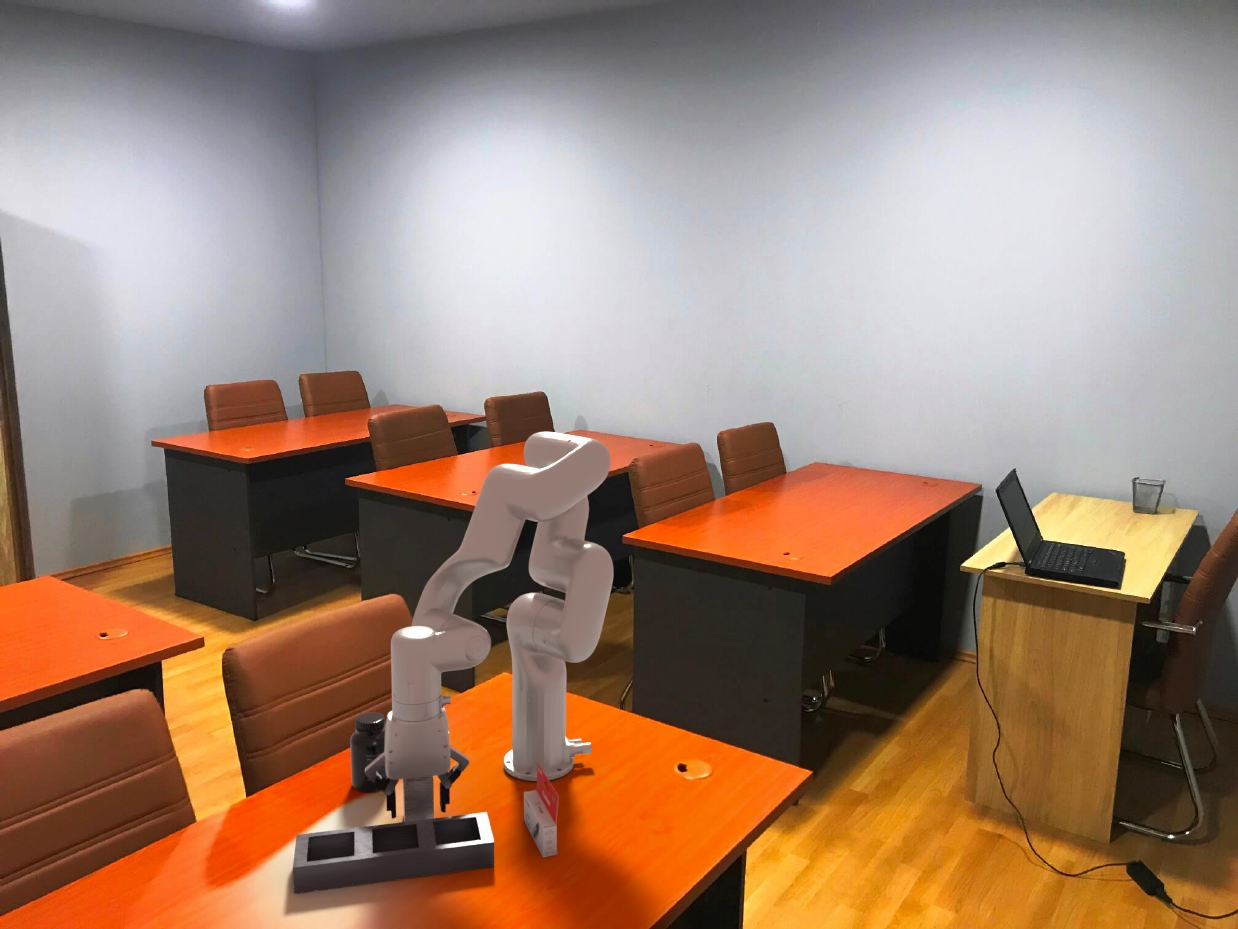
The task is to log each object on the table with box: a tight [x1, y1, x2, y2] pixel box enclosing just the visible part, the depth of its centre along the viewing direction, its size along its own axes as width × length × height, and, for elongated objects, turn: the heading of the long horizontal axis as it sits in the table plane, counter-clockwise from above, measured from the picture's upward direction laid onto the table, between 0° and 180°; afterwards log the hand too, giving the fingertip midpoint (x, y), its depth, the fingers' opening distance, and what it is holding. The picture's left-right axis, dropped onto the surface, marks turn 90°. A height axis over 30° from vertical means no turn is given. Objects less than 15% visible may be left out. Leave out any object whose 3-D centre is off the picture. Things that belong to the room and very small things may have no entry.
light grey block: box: [402, 776, 435, 822], centre depth 152 cm, size 4×4×8 cm
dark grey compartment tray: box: [292, 811, 495, 894], centre depth 141 cm, size 28×8×4 cm, turn 105°
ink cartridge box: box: [523, 763, 560, 858], centre depth 148 cm, size 2×11×10 cm, turn 21°
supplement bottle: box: [349, 711, 387, 793], centre depth 163 cm, size 7×7×12 cm
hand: (418, 810), depth 152 cm, fingers open, 7 cm apart
